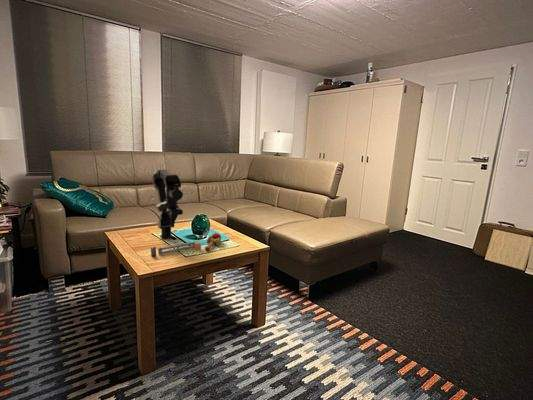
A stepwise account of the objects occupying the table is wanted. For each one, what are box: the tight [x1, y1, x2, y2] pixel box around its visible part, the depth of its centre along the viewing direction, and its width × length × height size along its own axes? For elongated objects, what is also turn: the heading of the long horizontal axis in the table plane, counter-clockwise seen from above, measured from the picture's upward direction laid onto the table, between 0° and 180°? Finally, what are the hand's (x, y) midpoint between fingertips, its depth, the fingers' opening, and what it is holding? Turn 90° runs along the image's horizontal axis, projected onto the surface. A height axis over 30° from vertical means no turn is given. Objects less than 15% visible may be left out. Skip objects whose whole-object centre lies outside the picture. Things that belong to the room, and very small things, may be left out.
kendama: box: [204, 232, 222, 253], centre depth 165 cm, size 8×6×18 cm
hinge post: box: [150, 246, 157, 258], centre depth 148 cm, size 2×2×4 cm
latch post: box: [193, 241, 202, 252], centre depth 159 cm, size 3×3×4 cm
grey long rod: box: [157, 241, 195, 256], centre depth 155 cm, size 2×20×3 cm, turn 124°
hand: (172, 223), depth 165 cm, fingers closed
